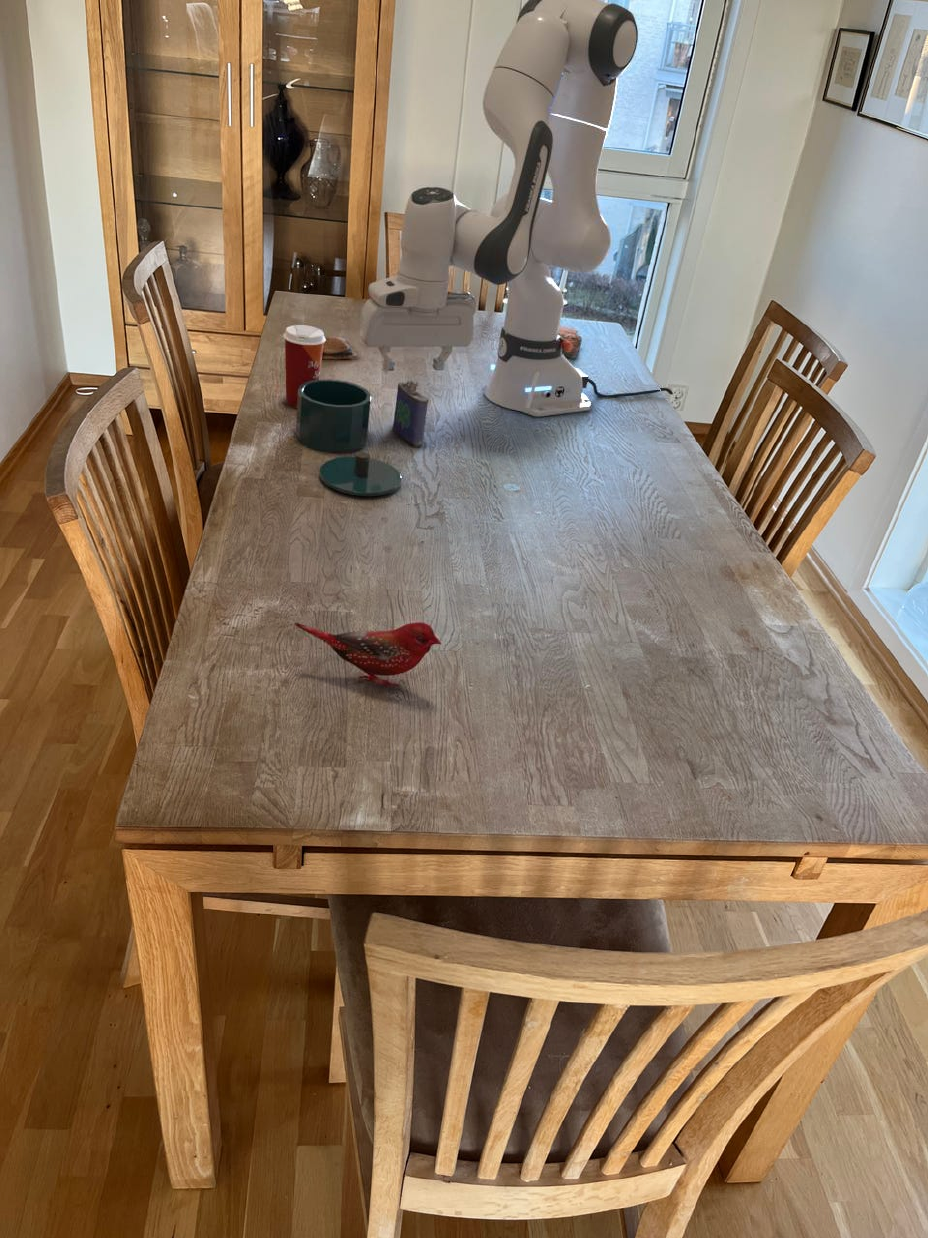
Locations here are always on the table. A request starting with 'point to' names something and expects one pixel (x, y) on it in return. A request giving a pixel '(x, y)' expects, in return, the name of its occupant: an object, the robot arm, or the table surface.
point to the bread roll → (337, 349)
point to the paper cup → (301, 358)
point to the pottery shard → (570, 340)
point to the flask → (410, 414)
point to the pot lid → (360, 475)
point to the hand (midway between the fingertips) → (413, 369)
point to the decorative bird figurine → (381, 648)
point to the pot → (333, 415)
